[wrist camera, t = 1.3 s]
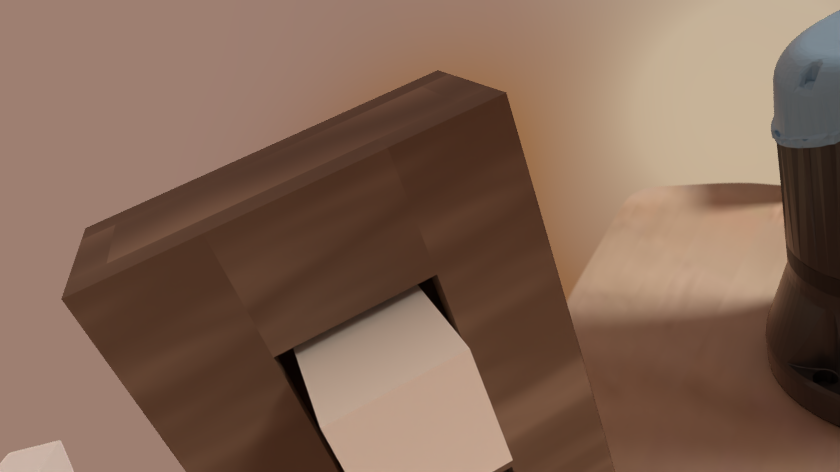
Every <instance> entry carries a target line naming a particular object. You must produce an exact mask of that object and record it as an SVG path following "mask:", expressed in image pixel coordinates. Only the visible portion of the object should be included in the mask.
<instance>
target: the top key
mask: <svg viewBox="0 0 840 472" xmlns="http://www.w3.org/2000/svg"><path fill="white" fill-rule="evenodd" d="M293 349H294V352H295V355H296V358H297V361H298V364H299V367H300V370H301V373H302V376H303V379H304V382H305V385H306V387H307V390H308V393H309V396H310V399H311V402H312V405H313V408H314V411H315V414H316V417H317V420H318V423H319V426H320V429H321V430H322V432H323V434H324V436H325V438H326V439H327V441H328V443H329V445H330V446H331V448H332V450H333V452H334V454H335V455H336V457H337V459H338V461H339V462H340V464H341V466H342V468H343V470H344V471H345V472H493V471H495V470H497V469H498V468H500V467H502V466H504V465H505V464H507V463H509V462H511V461H512V460H513V459H512V457H511V454H510V451H509V449H508V446H507V444H506V441H505V438H504V436H503V433H502V431H501V428H500V426H499V423H498V420H497V418H496V415H495V413H494V410H493V407H492V405H491V402H490V400H489V397H488V395H487V392H486V389H485V387H484V384H483V382H482V379H481V376H480V374H479V371H478V369H477V366H476V364H475V361H474V358H473V356H472V353H471V351H470V348H469V347H468V346H467V345H466V343H465V342H464V341H463V340H462V338H461V337H460V336H459V335H458V334H457V332H456V331H455V330H454V329H453V328H452V326H451V325H450V324H449V323H448V321H447V320H446V319H445V318H444V317H443V315H442V314H441V313H440V312H439V310H438V309H437V308H436V307H435V306H434V304H433V303H432V302H431V301H430V300H429V298H428V297H427V296H426V295H425V293H424V292H423V291H422V290H421V289H420V287H419V286H418V285H415V286H414V287H412V288H410V289H408V290H406V291H404V292H402V293H400V294H398V295H396V296H394V297H392V298H390V299H388V300H386V301H384V302H382V303H380V304H378V305H376V306H374V307H372V308H370V309H368V310H366V311H364V312H362V313H360V314H358V315H356V316H354V317H353V318H351V319H349V320H347V321H345V322H343V323H341V324H339V325H337V326H335V327H333V328H331V329H329V330H327V331H325V332H323V333H321V334H319V335H317V336H315V337H313V338H311V339H309V340H307V341H305V342H303V343H301V344H299V345H297V346H295V347H293Z"/></svg>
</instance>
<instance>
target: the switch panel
mask: <svg viewBox="0 0 840 472" xmlns="http://www.w3.org/2000/svg"><path fill="white" fill-rule="evenodd" d="M415 285H418V286H419V287H420V289H421V290H422V291H423V292H424V293H425V295H426V296H427V297H428V298H429V300H430V301H431V302H432V303H433V304H434V306H435V307H436V308H437V309H438V310H439V312H440V313H441V314H442V315H443V317H444V318H445V319H446V320H447V321H448V323H449V324H450V325H451V326H452V328H453V329H454V330H455V331H456V332H457V334H458V335H459V336H460V337H461V338H462V340H463V341H464V342H465V343H466V345H467V346H468V347H469V348H470V351H471V353H472V356H473V358H474V361H475V364H476V366H477V369H478V371H479V374H480V376H481V379H482V382H483V384H484V387H485V389H486V392H487V395H488V397H489V400H490V402H491V405H492V407H493V410H494V413H495V415H496V418H497V420H498V423H499V426H500V428H501V431H502V433H503V436H504V438H505V441H506V444H507V446H508V449H509V451H510V454H511V457H512V459H513V460H512V461H511V462H509V463H507V464H505V465H504V466H502V467H500V468H498V469H497V470H495V471H493V472H615V469H614V466H613V462H612V459H611V455H610V452H609V448H608V445H607V441H606V438H605V435H604V431H603V428H602V424H601V421H600V417H599V414H598V410H597V407H596V403H595V400H594V396H593V393H592V389H591V386H590V382H589V379H588V375H587V372H586V369H585V365H584V362H583V358H582V355H581V351H580V348H579V344H578V341H577V337H576V334H575V330H574V327H573V323H572V320H571V316H570V313H569V309H568V306H567V303H566V299H565V296H564V292H563V289H562V285H561V282H560V278H559V275H558V271H557V268H556V264H555V261H554V258H553V254H552V250H551V247H550V244H549V240H548V236H547V233H546V230H545V226H544V223H543V219H542V216H541V212H540V209H539V205H538V202H537V198H536V195H535V191H534V188H533V185H532V181H531V178H530V175H529V170H528V167H527V164H526V160H525V157H524V153H523V150H522V146H521V143H520V139H519V136H518V132H517V129H516V125H515V122H514V118H513V115H512V111H511V108H510V104H509V101H508V98H507V94H506V92H502V91H499V90H496V89H493V88H490V87H487V86H484V85H481V84H478V83H475V82H472V81H469V80H466V79H463V78H460V77H456V76H453V75H451V74H447V73H444V72H441V71H435V72H433V73H431V74H429V75H426V76H424V77H422V78H420V79H417V80H415V81H413V82H411V83H409V84H406V85H404V86H402V87H400V88H397V89H395V90H393V91H391V92H388V93H386V94H384V95H382V96H379V97H377V98H375V99H373V100H371V101H368V102H366V103H364V104H362V105H359V106H357V107H355V108H353V109H351V110H348V111H346V112H344V113H342V114H339V115H337V116H335V117H333V118H330V119H328V120H326V121H324V122H322V123H319V124H317V125H315V126H313V127H310V128H308V129H306V130H304V131H301V132H299V133H297V134H295V135H293V136H290V137H289V138H286V139H284V140H281V141H279V142H277V143H275V144H272V145H270V146H268V147H266V148H264V149H261V150H260V151H257V152H255V153H252V154H250V155H248V156H246V157H243V158H241V159H239V160H237V161H235V162H232V163H230V164H228V165H226V166H224V167H221V168H219V169H217V170H215V171H212V172H210V173H208V174H206V175H204V176H201V177H199V178H197V179H194V180H192V181H190V182H188V183H186V184H183V185H181V186H179V187H177V188H174V189H172V190H170V191H168V192H165V193H163V194H161V195H159V196H157V197H154V198H152V199H150V200H148V201H145V202H143V203H141V204H139V205H137V206H134V207H132V208H130V209H127V210H125V211H123V212H121V213H119V214H116V215H114V216H112V217H110V218H108V219H105V220H103V221H101V222H98V223H96V224H94V225H92V226H90V227H87V228H86V229H85V232H84V234H83V238H82V240H81V243H80V246H79V249H78V252H77V255H76V258H75V261H74V264H73V267H72V270H71V273H70V276H69V278H68V281H67V284H66V287H65V290H64V293H63V296H62V300H63V302H64V303H65V304H66V306H67V307H68V309H69V310H70V311H71V313H72V314H73V316H74V317H75V318H76V320H77V321H78V322H79V324H80V325H81V327H82V328H83V330H84V331H85V332H86V334H87V335H88V336H89V338H90V339H91V340H92V342H93V343H94V345H95V346H96V348H97V349H98V350H99V351H100V353H101V354H102V356H103V357H104V359H105V360H106V361H107V363H108V364H109V366H110V367H111V368H112V370H113V371H114V372H115V374H116V375H117V377H118V378H119V379H120V381H121V382H122V384H123V385H124V386H125V388H126V389H127V390H128V392H129V393H130V395H131V396H132V397H133V399H134V400H135V402H136V403H137V404H138V406H139V407H140V408H141V410H142V411H143V413H144V414H145V415H146V417H147V418H148V420H149V421H150V422H151V424H152V425H153V426H154V428H155V429H156V431H157V432H158V433H159V434H160V436H161V438H162V439H163V440H164V442H165V443H166V445H167V446H168V447H169V449H170V450H171V451H172V453H173V454H174V456H175V457H176V458H177V460H178V461H179V463H180V464H181V465H182V467H183V468H184V469H185V471H186V472H345V471H344V470H343V468H342V466H341V464H340V462H339V461H338V459H337V457H336V455H335V454H334V452H333V450H332V448H331V446H330V445H329V443H328V441H327V439H326V438H325V436H324V434H323V432H322V430H321V429H320V426H319V423H318V420H317V417H316V414H315V411H314V408H313V405H312V402H311V399H310V396H309V393H308V390H307V387H306V385H305V382H304V379H303V376H302V373H301V370H300V367H299V364H298V361H297V358H296V355H295V352H294V349H293V347H295V346H297V345H299V344H301V343H303V342H305V341H307V340H309V339H311V338H313V337H315V336H317V335H319V334H321V333H323V332H325V331H327V330H329V329H331V328H333V327H335V326H337V325H339V324H341V323H343V322H345V321H347V320H349V319H351V318H353V317H354V316H356V315H358V314H360V313H362V312H364V311H366V310H368V309H370V308H372V307H374V306H376V305H378V304H380V303H382V302H384V301H386V300H388V299H390V298H392V297H394V296H396V295H398V294H400V293H402V292H404V291H406V290H408V289H410V288H412V287H414V286H415Z"/></svg>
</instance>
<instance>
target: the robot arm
mask: <svg viewBox="0 0 840 472" xmlns="http://www.w3.org/2000/svg"><path fill="white" fill-rule="evenodd" d="M773 91H774V118H773V120H772V124H771V132H772V137H773V138H774V139H775V141H776V142H777V149H778V159H779V170H780V180H781V191H782V203H783V216H784V228H785V239H786V249H787V264H786V267H785V270H784V272H783V275H782V278H781V281H780V284H779V287H778V289H777V292H776V295H775V298H774V301H773V304H772V306H771V309H770V312H769V315H768V319H767V324H766V341H767V350H768V358H769V363H770V366H771V369H772V372H773V374H774V376H775V377H776V379H777V381H778V382H779V383H780V385H781V386H782V387H783V389H784V390H785V391H786V392H787V393H788V394H789V395H790V396H791V397H792V398H793V399H794V400H796V401H797V402H798V403H799V404H801V405H802V406H803V407H805V408H806V409H808V410H809V411H811V412H812V413H814V414H816V415H817V416H819V417H821V418H823V419H825V420H827V421H829V422H831V423H833V424H835V425H838V426H840V10H839V11H837V12H835V13H833V14H831V15H829V16H827V17H826V18H824V19H822V20H820V21H819V22H817V23H815V24H814V25H812V26H811V27H809V28H808V29H806V30H805V31H803V32H802V33H801V34H800V35H799V36H797V37H796V38H795V39H794V40H793V41H792V42H791V43H790V44H789V45H788V46H787V47H786V49H785V50H784V52H783V53H782V55H781V56H780V58H779V60H778V62H777V64H776V67H775V70H774V77H773ZM0 472H74V471H73V468H72V466H71V463H70V461H69V459H68V456H67V454H66V452H65V449H64V447H63V445H62V442H61V440H59V441H55V442H51V443H47V444H43V445H39V446H35V447H31V448H27V449H23V450H19V451H15V452H11V453H9V454H8V455H7V456H6V457H5V458H4V459H3V461H2V462H1V463H0Z"/></svg>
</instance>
